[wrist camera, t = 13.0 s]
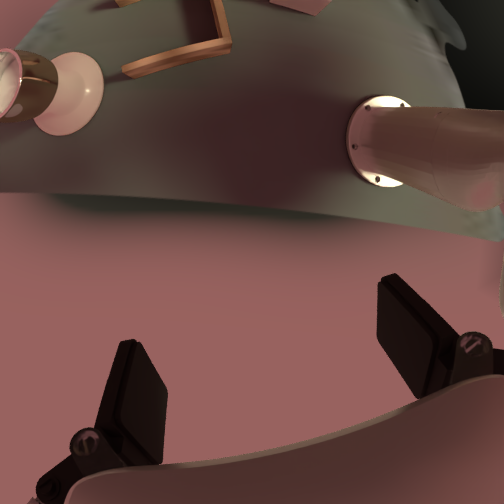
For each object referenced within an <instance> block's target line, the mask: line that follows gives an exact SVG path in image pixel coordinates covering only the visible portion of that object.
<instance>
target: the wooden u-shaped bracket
mask: <svg viewBox="0 0 504 504" xmlns="http://www.w3.org/2000/svg"><path fill="white" fill-rule="evenodd" d="M114 1H115V2H116V3H117V4H118V5H119V7H120V8H121V7H124V6H126V5H129V4H132V3H135V2H138V1H141V0H114ZM210 4H211V8H212V12H213V16H214V20H215V24H216V28H217V32H218V36H219V39H214V40H210V41H205V42H201V43H196V44H192V45H188V46H184V47H180V48H177V49H173V50H170V51H166V52H163V53H159V54H156V55H153V56H150V57H147V58H144V59H141V60H138V61H135V62H132V63H129V64H126V65H123V66H121V67H122V72H123V73H124V74H126V75H128V76H129V77H131V78H133V79H136V78H139V77H142V76H145V75H148V74H151V73H154V72H157V71H161V70H164V69H167V68H171V67H174V66H178V65H182V64H185V63H189V62H193V61H197V60H201V59H206V58H210V57H215V56H219V55H224V54H229V53H230V50H231V46H232V40H231V36H230V32H229V28H228V24H227V20H226V16H225V12H224V8H223V4H222V0H210Z"/></svg>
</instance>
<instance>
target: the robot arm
mask: <svg viewBox="0 0 504 504" xmlns="http://www.w3.org/2000/svg"><path fill="white" fill-rule="evenodd" d="M365 107H366V110H365ZM352 145H353V146H354V147H353V148H352ZM346 146H347V151H348V155H349V158H350V160H351V163H352V165H353V166H354V168H355V169H356V171H357V172H358V173H359V174H360V175H361V176H362V177H363V178H364V179H366V180H367V181H369V182H370V183H372V184H375V185H377V186H381V187H396V186H399V185H402V184H406V185H408V186H411V187H413V188H416V189H418V190H421V191H423V192H425V193H428V194H430V195H432V196H435V197H437V198H439V199H441V200H444V201H446V202H448V203H450V204H452V205H455V206H457V207H460V208H462V209H465V210H468V211H474V212H479V211H485V210H488V209H491V208H493V207H495V206H497V205H499V204H500V203H502V202H503V201H504V111H494V110H478V109H464V108H447V107H411V106H410V105H409V104H407V103H406V102H405V101H403V100H401V99H399V98H397V97H393V96H385V95H383V96H375V97H372V98H369V99H367V100H366V101H364V102H362V103H361V104H360V105H359V106H358V107H357V108H356V110H355V111H354V112H353V114H352V116H351V118H350V120H349V123H348V127H347V131H346ZM375 177H376V179H375ZM499 301H500V308H501V312H502V315H503V318H504V257H503V265H502V274H501V281H500V290H499ZM377 339H378V341H379V343H380V345H381V346H382V348H383V349H384V351H385V352H386V353H387V355H388V357H389V358H390V359H391V361H392V362H393V364H394V365H395V367H396V368H397V370H398V372H399V373H400V374H401V376H402V378H403V379H404V381H405V382H406V384H407V385H408V387H409V388H410V390H411V391H412V393H413V395H414V396H415V397H416V398H417V399H419V400H417V401H415V402H413V403H410V404H408V405H405V406H403V407H401V408H398V409H396V410H394V411H391V412H389V413H386V414H384V415H381V416H379V417H376V418H373V419H371V420H368V421H365V422H363V423H360V424H357V425H354V426H351V427H348V428H345V429H342V430H339V431H336V432H333V433H330V434H327V435H323V436H320V437H316V438H313V439H309V440H306V441H302V442H298V443H294V444H290V445H286V446H282V447H278V448H273V449H269V450H264V451H259V452H254V453H249V454H243V455H238V456H232V457H225V458H219V459H212V460H204V461H195V462H185V463H175V464H163V465H159V464H161V463H162V462H163V448H164V434H165V421H166V408H167V398H168V392H167V388H166V386H165V384H164V383H163V381H162V379H161V378H160V376H159V374H158V372H157V371H156V369H155V367H154V365H153V364H152V362H151V360H150V358H149V356H148V355H147V353H146V351H145V349H144V347H143V345H142V344H141V343H140V342H137V341H136V340H135V339H131V340H125V341H121V342H120V343H119V346H118V349H117V352H116V355H115V358H114V362H113V365H112V368H111V371H110V375H109V378H108V380H107V383H106V386H105V390H104V393H103V397H102V400H101V404H100V407H99V411H98V415H97V418H96V422H95V426H94V428H91V427H88V428H83V429H81V430H79V431H78V432H77V433H76V434H74V436H73V437H72V439H71V441H70V447H69V449H70V452H71V455H70V456H68V457H67V458H66V459H64V460H63V461H62V462H60V463H59V464H58V465H56V466H55V467H54V468H52V469H51V470H50V471H48V472H47V473H46V474H44V475H43V476H42V477H41V478H40V479H39V481H38V482H37V485H36V494H37V498H36V499H35V498H34V497H32V498H31V499H30V501H29V502H28V503H27V504H504V350H501V349H494V348H493V345H492V342H491V340H490V339H489V338H488V337H487V336H486V335H484V334H482V333H480V332H466V333H464V334H462V335H461V336H459V335H458V333H457V332H456V331H455V330H454V329H453V328H452V327H451V326H450V325H449V324H448V323H447V322H446V321H445V320H444V319H443V318H442V317H441V316H440V315H439V314H438V313H437V312H436V311H435V310H434V309H433V308H432V307H431V306H430V305H429V304H428V303H427V302H426V301H425V300H424V299H422V298H421V297H420V296H419V295H418V294H417V293H416V292H415V291H414V290H413V289H412V288H411V287H410V286H409V285H408V284H407V283H406V282H405V281H404V280H403V279H401V278H400V277H399V276H398V275H397V274H396V273H394V274H391V275H387V276H384V277H382V278H381V282H378V300H377Z"/></svg>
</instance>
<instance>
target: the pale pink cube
mask: <svg viewBox="0 0 504 504" xmlns="http://www.w3.org/2000/svg"><path fill="white" fill-rule="evenodd" d="M331 1H332V0H270V1H269V2H270V3H274V4H277V5H281V6H284V7H288V8H291V9H295V10H298V11H301V12H304V13H307V14H310V15H313V16H316V15H317V14H318V13H319V12H320V11H321V10H322V9H323V8H325V7H326V6H327V5H328V4H329V3H330V2H331Z"/></svg>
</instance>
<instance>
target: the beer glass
mask: <svg viewBox="0 0 504 504" xmlns="http://www.w3.org/2000/svg"><path fill="white" fill-rule="evenodd" d="M85 92H86V84H85V80H84V78H83V76H82V75H81V74H80V73H79V72H77V71H75V70H71V69H66V70H61V69H60V68H58V67H57V66H56V65H55V64H53V63H52V62H51V61H50V60H48V59H46V58H45V57H43V56H41V55H38V54H36V53H32V52H28V51H23V50H15V49H10V48H2V49H0V123H11V122H21V121H26V120H29V119H33V118H36V117H38V116H41V115H44V114H47V113H51V114H53V115H56V116H66V115H69V114H71V113H72V112H74V111H75V110H76V109H77V108H78V107H79V106H80V104H81V103H82V101H83V99H84V96H85Z"/></svg>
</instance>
